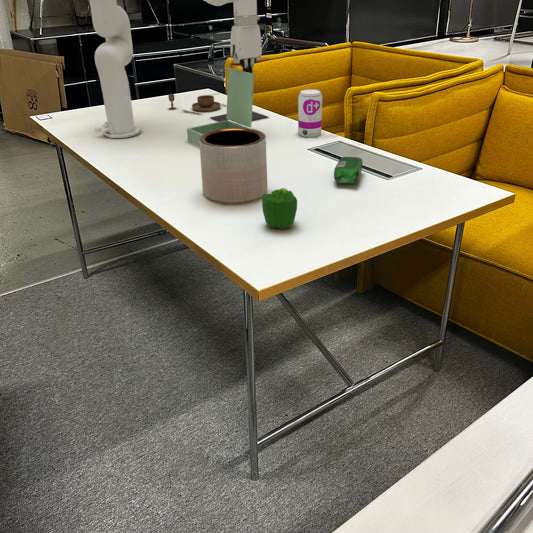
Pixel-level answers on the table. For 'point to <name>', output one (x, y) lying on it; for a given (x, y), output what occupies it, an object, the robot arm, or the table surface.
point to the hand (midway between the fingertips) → (247, 79)
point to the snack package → (348, 170)
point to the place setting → (200, 103)
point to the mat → (254, 117)
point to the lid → (240, 97)
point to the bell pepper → (279, 208)
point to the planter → (233, 164)
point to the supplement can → (309, 113)
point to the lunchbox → (209, 129)
